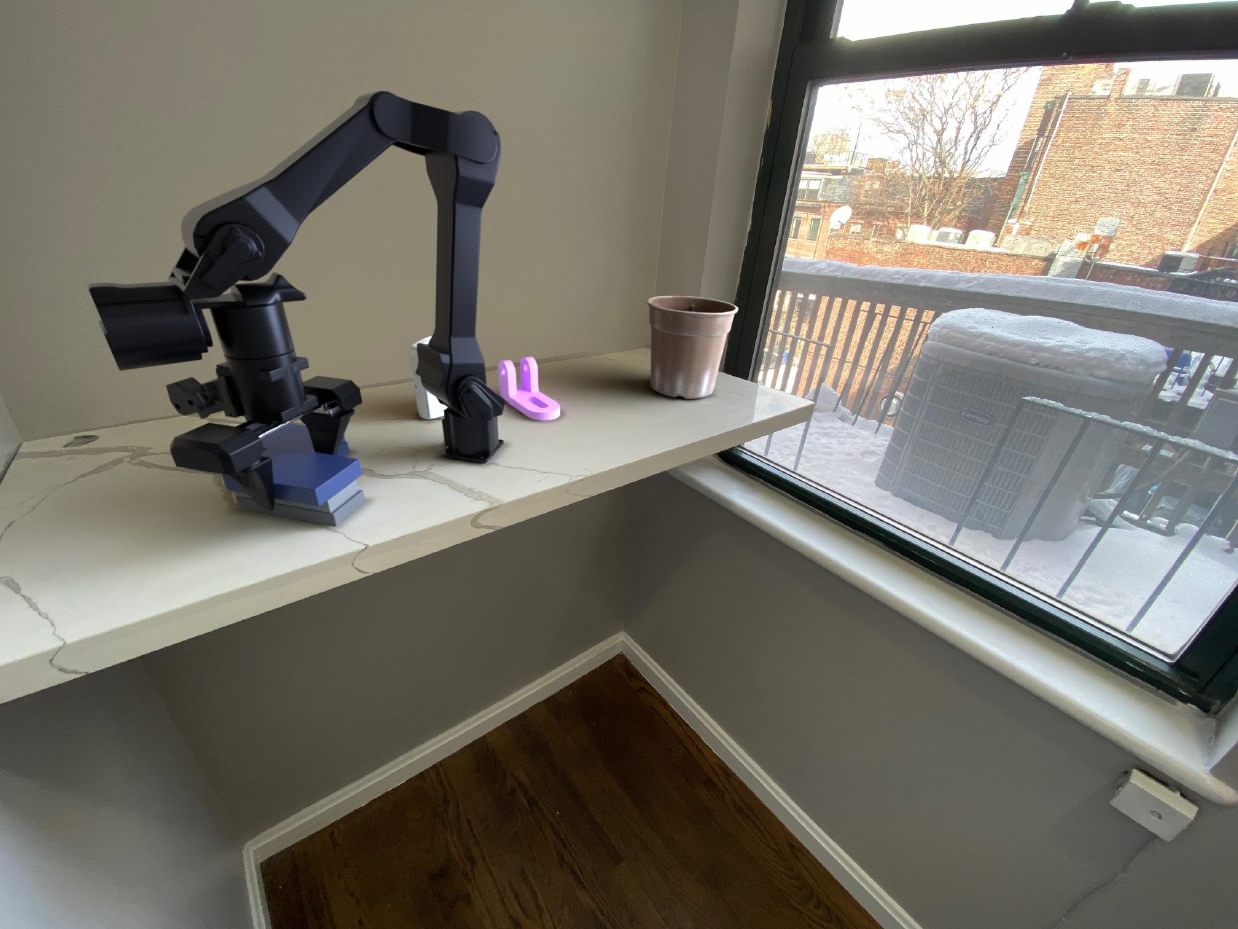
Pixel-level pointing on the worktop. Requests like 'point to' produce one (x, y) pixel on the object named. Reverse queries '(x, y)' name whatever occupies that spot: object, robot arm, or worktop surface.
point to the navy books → (296, 439)
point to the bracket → (526, 390)
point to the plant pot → (687, 343)
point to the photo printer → (424, 399)
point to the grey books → (326, 513)
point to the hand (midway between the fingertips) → (299, 489)
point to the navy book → (306, 475)
